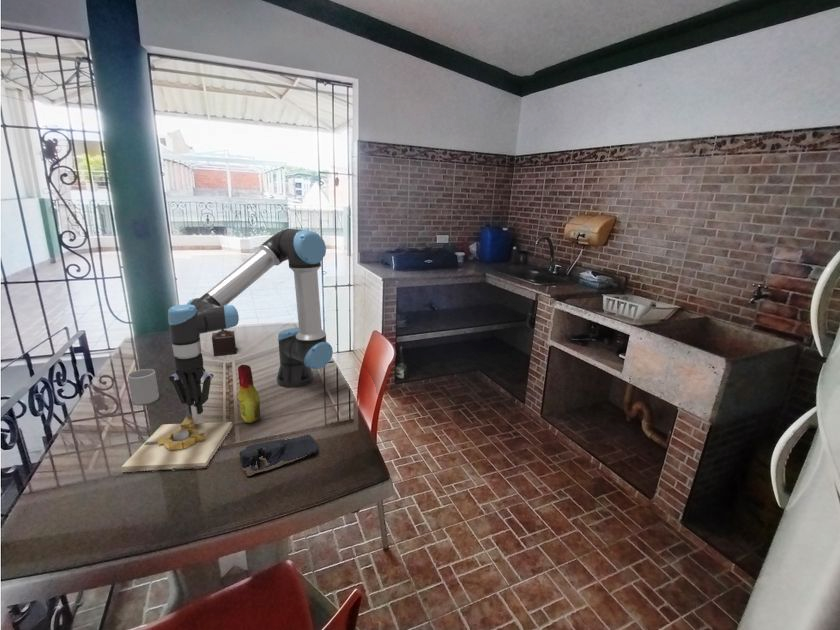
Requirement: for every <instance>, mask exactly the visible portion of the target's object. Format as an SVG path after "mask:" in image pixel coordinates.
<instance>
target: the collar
mask: <svg viewBox="0 0 840 630" xmlns="http://www.w3.org/2000/svg"><path fill="white" fill-rule="evenodd" d="M185 413H186V416H185V418H184V419H183V421H182V422H181V423H180V424H181V429H178V430H175V431H173V432H171V433H169V434H167V436H160V437H159V438H158V444H164V446H165V447H166V448H168V449H169V450H177V449H183V448H186V447H189V446H191V445H193V444H195V443H196V442H197V441H200V440H204V438H205V434H204V433H199V432H198V430H196V429H194V428H195V426H196V425H197V424H193V418H192V414H190V413H189V408H188V409H186V410H185ZM180 430H188V432H189V436H191V437H189V438H187V439H184V440H182V441H173V440H174V437H173V434H174V433H175V432H177V431H180Z"/></svg>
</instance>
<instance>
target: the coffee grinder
mask: <svg viewBox="0 0 840 630" xmlns="http://www.w3.org/2000/svg"><path fill="white" fill-rule="evenodd" d="M211 333H212V335H211V342H212V351H213V357H223V356H231V355H236V354H238V353H237V351H238V347H237V345H236V337H235V331H234V330H227V329H222V330H218V332H211Z"/></svg>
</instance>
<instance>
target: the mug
mask: <svg viewBox="0 0 840 630" xmlns="http://www.w3.org/2000/svg"><path fill="white" fill-rule="evenodd" d="M127 380H128V386H129V390H130V396H131V397H130V399H131V402H132V404H133V405H136V406H143V405H149V404H151V403H155V402H156V401H157V400H159V398H160V393H159V392H160V391H159V386H158V381H157V376H156V371H155V369H152V368H145V369H144V368H143V369H138V370H134V371H132V372H129V373H128V374H127Z"/></svg>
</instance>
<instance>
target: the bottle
mask: <svg viewBox="0 0 840 630" xmlns="http://www.w3.org/2000/svg"><path fill="white" fill-rule="evenodd" d="M237 372H238V382H239V383H238V384H239V389H238V392H237V397H238V398H237V399H238V404H239V410H240V416H241V418H242V419H243V422H244V423H248V424H251V423H254V422H256V421H259V420H260V418H261V404H260V403H261V402H260V395H259V392H258V390H257V389H256V387H255V385H254V377H253V373H252V368H251V366H250V365H248V364H241V365H239V366H238V367H237Z"/></svg>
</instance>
